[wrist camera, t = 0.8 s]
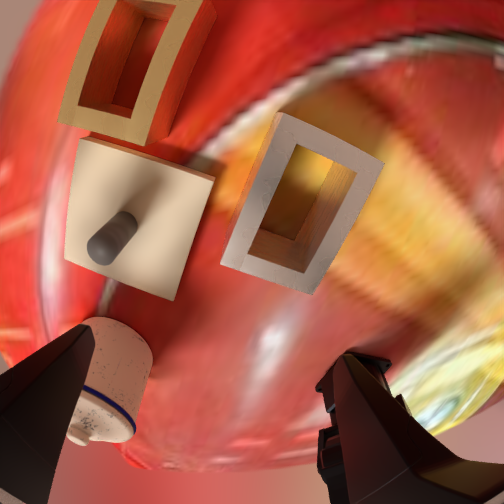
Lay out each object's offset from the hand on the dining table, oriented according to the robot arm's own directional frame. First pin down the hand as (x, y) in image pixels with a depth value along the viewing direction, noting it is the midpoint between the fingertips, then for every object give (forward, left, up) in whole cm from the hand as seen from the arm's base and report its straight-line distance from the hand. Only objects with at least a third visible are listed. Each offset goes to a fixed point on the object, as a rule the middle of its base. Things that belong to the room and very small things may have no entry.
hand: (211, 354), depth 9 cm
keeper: (+7, +3, -12) cm, 14 cm away
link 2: (-3, -3, -12) cm, 13 cm away
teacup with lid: (+6, +19, -13) cm, 23 cm away
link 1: (+9, -8, -12) cm, 17 cm away
